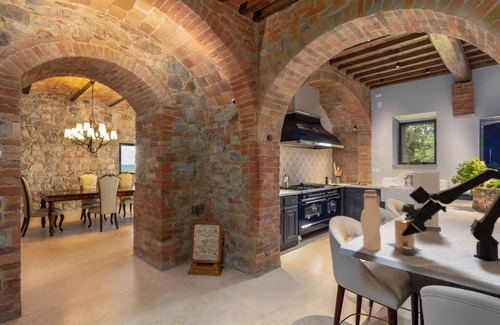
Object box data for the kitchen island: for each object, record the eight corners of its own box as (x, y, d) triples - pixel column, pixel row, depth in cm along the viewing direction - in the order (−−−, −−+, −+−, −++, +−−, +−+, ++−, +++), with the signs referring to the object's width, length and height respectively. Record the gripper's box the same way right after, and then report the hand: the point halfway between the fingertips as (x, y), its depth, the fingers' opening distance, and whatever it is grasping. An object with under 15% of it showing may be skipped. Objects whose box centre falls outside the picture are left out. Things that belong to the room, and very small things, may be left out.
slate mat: (422, 251, 119) (422, 250, 119) (401, 252, 119) (401, 251, 119) (405, 243, 131) (405, 242, 131) (386, 244, 131) (386, 243, 131)
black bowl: (416, 256, 113) (416, 249, 113) (406, 256, 113) (405, 249, 113) (409, 252, 118) (409, 245, 118) (399, 253, 118) (398, 246, 118)
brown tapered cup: (418, 249, 120) (417, 222, 120) (402, 250, 119) (401, 223, 120) (407, 244, 127) (406, 219, 128) (392, 245, 127) (391, 219, 127)
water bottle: (365, 243, 132) (363, 189, 133) (384, 246, 127) (382, 189, 127) (359, 248, 125) (357, 190, 125) (379, 252, 119) (377, 191, 119)
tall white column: (440, 230, 154) (439, 172, 154) (420, 229, 157) (418, 172, 157) (433, 226, 164) (432, 171, 165) (414, 225, 168) (413, 171, 168)
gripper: (409, 196, 131) (385, 217, 135) (416, 201, 114) (389, 225, 118) (428, 212, 128) (403, 233, 132) (438, 220, 111) (409, 244, 115)
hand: (400, 233), depth 124 cm, fingers closed on brown tapered cup, 8 cm apart
